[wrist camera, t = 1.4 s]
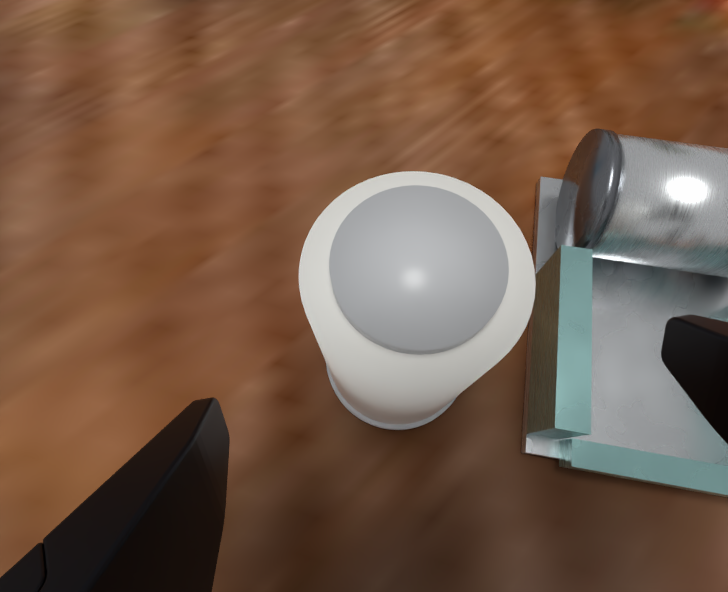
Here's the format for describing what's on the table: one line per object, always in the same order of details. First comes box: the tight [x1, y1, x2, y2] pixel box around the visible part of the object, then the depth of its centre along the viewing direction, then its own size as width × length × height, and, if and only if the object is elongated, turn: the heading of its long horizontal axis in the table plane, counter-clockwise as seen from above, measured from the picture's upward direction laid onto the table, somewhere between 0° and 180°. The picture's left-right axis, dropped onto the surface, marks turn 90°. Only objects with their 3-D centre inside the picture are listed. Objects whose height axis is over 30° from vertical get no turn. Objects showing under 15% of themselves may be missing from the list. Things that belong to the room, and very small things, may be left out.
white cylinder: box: [299, 171, 536, 430], centre depth 15 cm, size 6×6×10 cm
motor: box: [521, 129, 728, 498], centre depth 18 cm, size 13×10×6 cm
